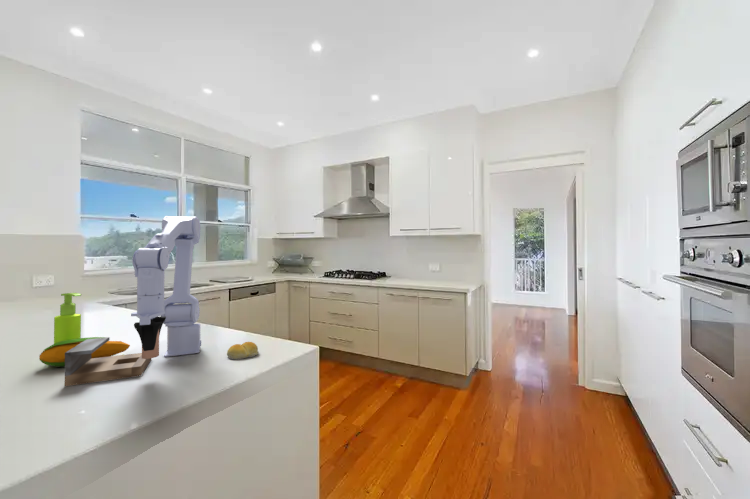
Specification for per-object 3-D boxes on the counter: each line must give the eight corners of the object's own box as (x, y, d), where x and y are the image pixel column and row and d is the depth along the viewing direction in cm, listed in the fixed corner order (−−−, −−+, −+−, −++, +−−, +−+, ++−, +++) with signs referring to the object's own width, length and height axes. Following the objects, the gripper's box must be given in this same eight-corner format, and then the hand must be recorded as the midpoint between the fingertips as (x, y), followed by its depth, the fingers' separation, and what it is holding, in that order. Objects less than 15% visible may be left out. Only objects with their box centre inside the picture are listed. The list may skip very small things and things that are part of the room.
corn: (44, 338, 92) (131, 329, 102) (44, 364, 92) (131, 353, 103) (35, 346, 85) (128, 335, 96) (35, 374, 86) (128, 360, 96)
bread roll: (224, 355, 101) (224, 342, 101) (254, 350, 106) (254, 338, 106) (230, 362, 94) (230, 348, 94) (261, 356, 99) (261, 343, 99)
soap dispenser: (66, 362, 94) (67, 294, 94) (48, 361, 95) (49, 293, 95) (88, 356, 99) (88, 292, 100) (70, 355, 101) (71, 291, 101)
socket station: (151, 360, 95) (151, 333, 96) (140, 375, 83) (141, 344, 83) (86, 368, 89) (86, 339, 89) (64, 386, 76) (64, 352, 76)
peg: (160, 353, 84) (160, 323, 84) (157, 357, 81) (157, 325, 81) (143, 355, 82) (143, 324, 82) (140, 359, 79) (140, 327, 79)
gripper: (138, 292, 86) (138, 342, 86) (123, 299, 73) (123, 358, 73) (169, 291, 90) (168, 339, 89) (160, 297, 76) (160, 354, 76)
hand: (150, 347), depth 81 cm, fingers closed on peg, 4 cm apart
